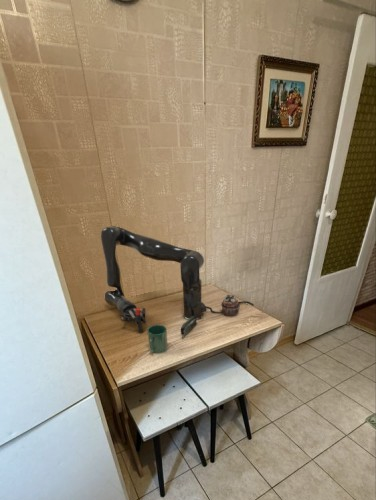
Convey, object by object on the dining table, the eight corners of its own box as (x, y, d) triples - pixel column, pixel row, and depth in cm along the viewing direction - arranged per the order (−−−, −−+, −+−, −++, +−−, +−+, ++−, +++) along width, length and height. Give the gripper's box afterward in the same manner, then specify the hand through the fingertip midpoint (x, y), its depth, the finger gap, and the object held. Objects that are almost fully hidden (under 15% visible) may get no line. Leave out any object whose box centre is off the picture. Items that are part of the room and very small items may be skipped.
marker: (143, 330, 136) (140, 307, 129) (142, 333, 134) (139, 310, 127) (138, 330, 136) (135, 308, 129) (137, 333, 134) (134, 310, 127)
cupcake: (239, 318, 144) (240, 300, 139) (220, 316, 146) (221, 299, 140) (239, 309, 152) (240, 292, 146) (221, 308, 153) (222, 291, 148)
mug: (154, 341, 128) (152, 323, 123) (170, 344, 126) (169, 326, 120) (143, 354, 119) (140, 336, 114) (160, 358, 117) (158, 340, 112)
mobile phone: (192, 314, 139) (178, 328, 127) (197, 315, 137) (184, 329, 126) (192, 322, 141) (178, 337, 130) (197, 324, 140) (184, 339, 129)
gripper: (112, 304, 135) (126, 319, 123) (138, 297, 142) (154, 310, 130) (114, 318, 140) (129, 333, 128) (139, 310, 146) (155, 324, 134)
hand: (141, 322), depth 129 cm, fingers closed on marker, 2 cm apart
